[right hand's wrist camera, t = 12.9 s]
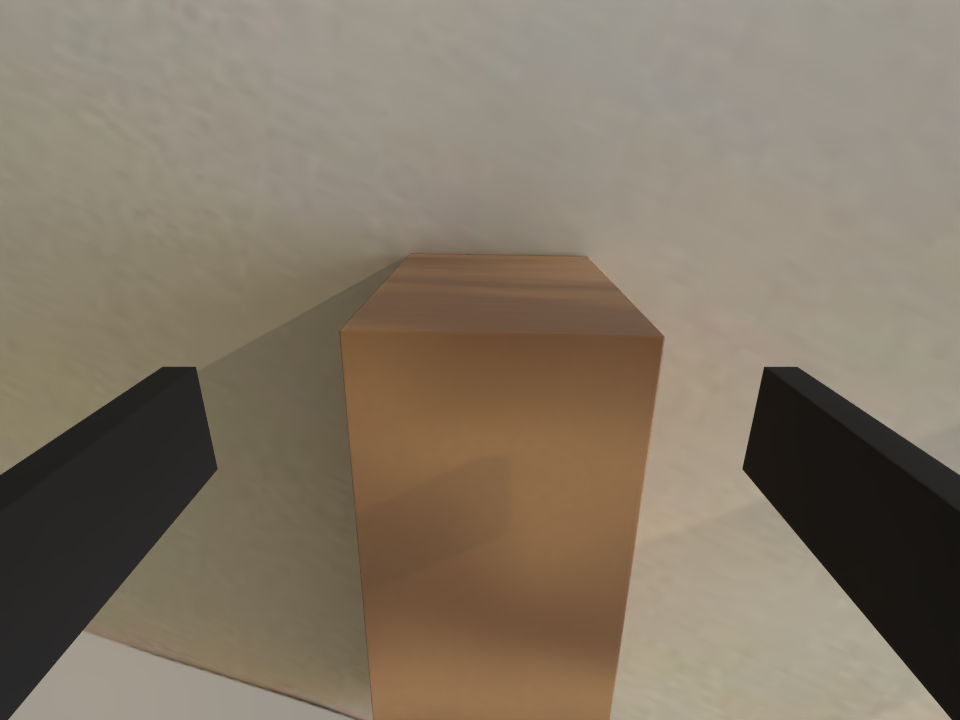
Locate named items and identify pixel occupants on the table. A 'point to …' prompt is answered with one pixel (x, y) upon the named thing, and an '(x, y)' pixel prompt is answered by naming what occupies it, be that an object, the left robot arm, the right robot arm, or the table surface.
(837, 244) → the table surface
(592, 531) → the box
